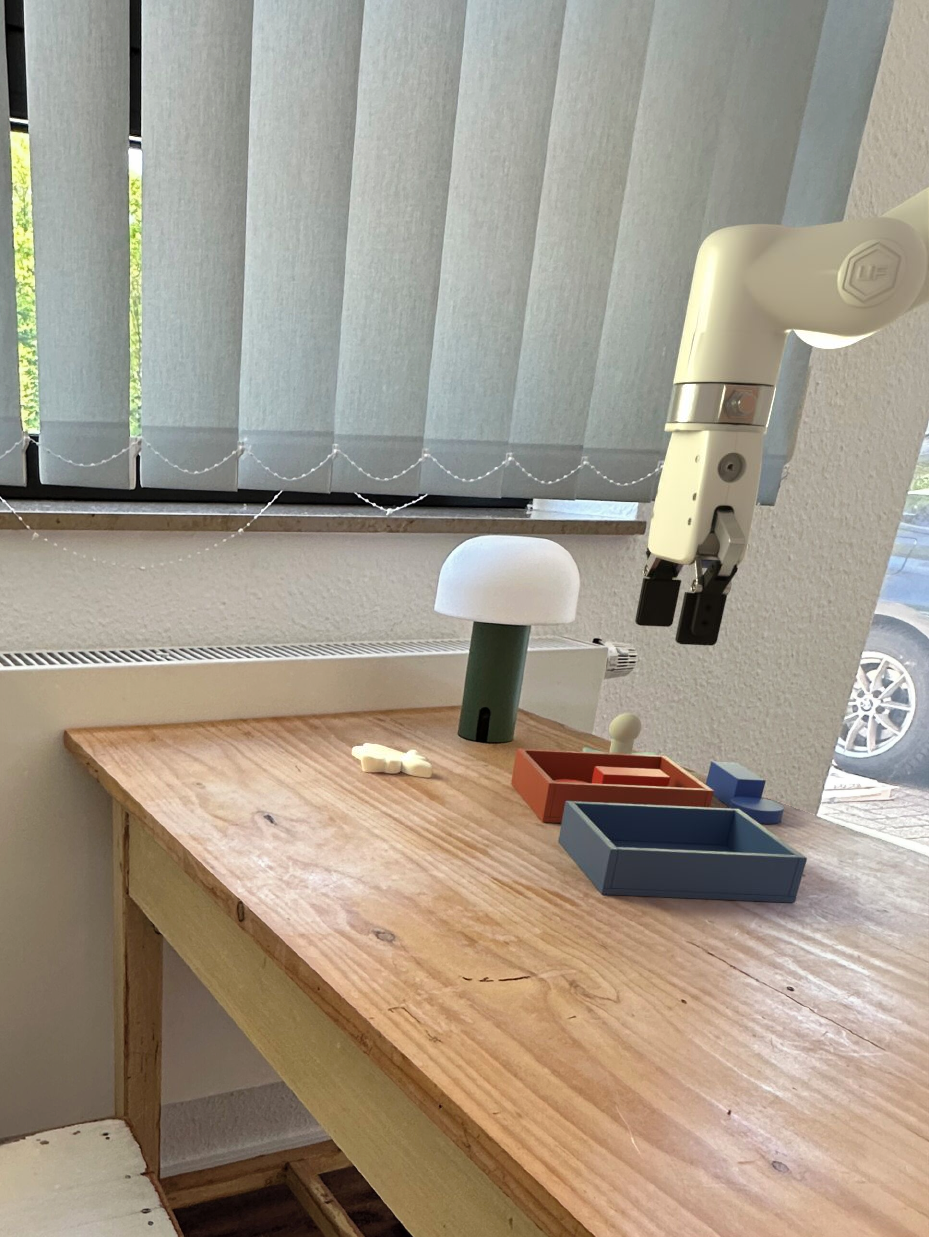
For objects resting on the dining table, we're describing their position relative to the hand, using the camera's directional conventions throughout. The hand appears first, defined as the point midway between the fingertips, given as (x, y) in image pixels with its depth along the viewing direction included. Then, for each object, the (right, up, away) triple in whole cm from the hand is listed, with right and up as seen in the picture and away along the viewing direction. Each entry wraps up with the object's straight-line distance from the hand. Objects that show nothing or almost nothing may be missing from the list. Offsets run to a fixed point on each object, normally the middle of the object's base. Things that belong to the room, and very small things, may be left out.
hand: (673, 634), depth 91 cm
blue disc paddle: (+9, -14, +8) cm, 19 cm away
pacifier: (+1, -9, +17) cm, 19 cm away
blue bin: (-4, -21, -9) cm, 23 cm away
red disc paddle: (-4, -14, +6) cm, 15 cm away
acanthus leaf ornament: (-22, -9, +15) cm, 28 cm away
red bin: (-4, -14, +6) cm, 16 cm away
